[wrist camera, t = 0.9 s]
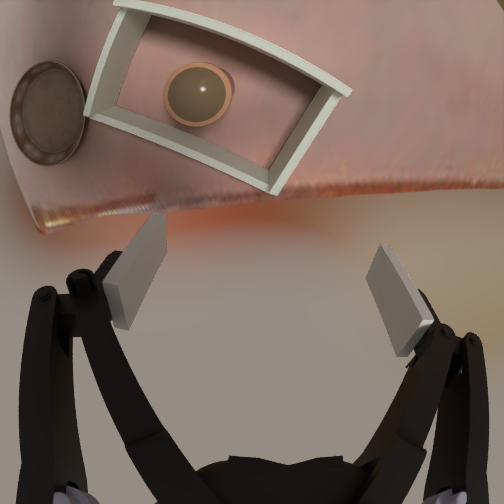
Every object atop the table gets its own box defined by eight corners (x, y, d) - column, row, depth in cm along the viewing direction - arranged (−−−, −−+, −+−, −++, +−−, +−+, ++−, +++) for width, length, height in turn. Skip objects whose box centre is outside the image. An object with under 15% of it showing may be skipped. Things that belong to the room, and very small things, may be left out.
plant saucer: (88, 43, 25) (76, 43, 22) (104, 150, 36) (94, 157, 33) (15, 80, 26) (3, 84, 23) (32, 166, 37) (22, 174, 34)
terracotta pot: (197, 54, 27) (179, 53, 21) (248, 75, 29) (243, 78, 23) (176, 101, 31) (153, 112, 25) (223, 121, 33) (212, 136, 27)
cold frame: (148, 7, 22) (116, -3, 15) (332, 83, 29) (352, 89, 22) (107, 110, 32) (72, 126, 25) (271, 179, 38) (273, 211, 31)
